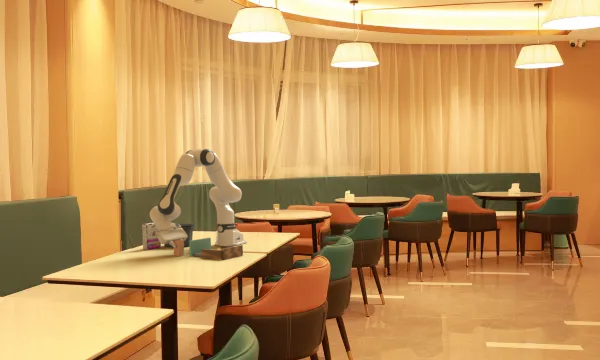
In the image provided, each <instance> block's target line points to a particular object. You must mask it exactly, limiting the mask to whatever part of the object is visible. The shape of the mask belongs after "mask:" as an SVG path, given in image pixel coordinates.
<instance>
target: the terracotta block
mask: <svg viewBox="0 0 600 360" xmlns="http://www.w3.org/2000/svg"><path fill="white" fill-rule="evenodd" d="M173 243H174V244H176V245H177V247H176V248H174V247H173V257H183V256H185V246H184V240H175V241H173Z"/></svg>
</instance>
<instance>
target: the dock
mask: <svg viewBox="0 0 600 360" xmlns="http://www.w3.org/2000/svg"><path fill="white" fill-rule="evenodd" d="M243 245H244V244H241V245H234V246H224V245H221V246H220V249H211V250H210V249H201V257H200V258H202V259H209V260H210V259H211V260H221V261H223V260H229V259H232V258H233V257H234V258H237V257H242V255H243V256H244V253H243V252H244V249H243V248H244V247H243Z"/></svg>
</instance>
